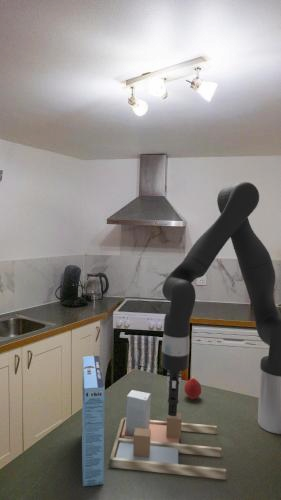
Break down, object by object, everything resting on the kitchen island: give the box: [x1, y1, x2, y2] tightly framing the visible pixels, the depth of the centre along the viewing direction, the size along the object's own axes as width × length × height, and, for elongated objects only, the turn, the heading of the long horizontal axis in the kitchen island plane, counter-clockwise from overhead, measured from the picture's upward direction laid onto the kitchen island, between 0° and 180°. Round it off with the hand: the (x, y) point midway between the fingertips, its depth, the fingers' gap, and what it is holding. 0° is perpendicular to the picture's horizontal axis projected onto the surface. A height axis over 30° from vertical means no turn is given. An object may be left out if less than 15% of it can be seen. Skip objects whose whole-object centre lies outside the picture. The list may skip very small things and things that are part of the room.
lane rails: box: [109, 416, 227, 480], centre depth 88 cm, size 28×18×2 cm, turn 84°
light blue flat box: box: [81, 355, 106, 487], centre depth 83 cm, size 20×5×23 cm, turn 10°
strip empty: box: [115, 428, 179, 464], centre depth 84 cm, size 16×7×7 cm, turn 84°
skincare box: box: [125, 389, 152, 437], centre depth 93 cm, size 6×4×12 cm
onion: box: [183, 376, 202, 400], centre depth 114 cm, size 6×6×8 cm
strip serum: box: [121, 411, 182, 444], centre depth 92 cm, size 16×8×7 cm, turn 84°
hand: (172, 406), depth 91 cm, fingers open, 8 cm apart
